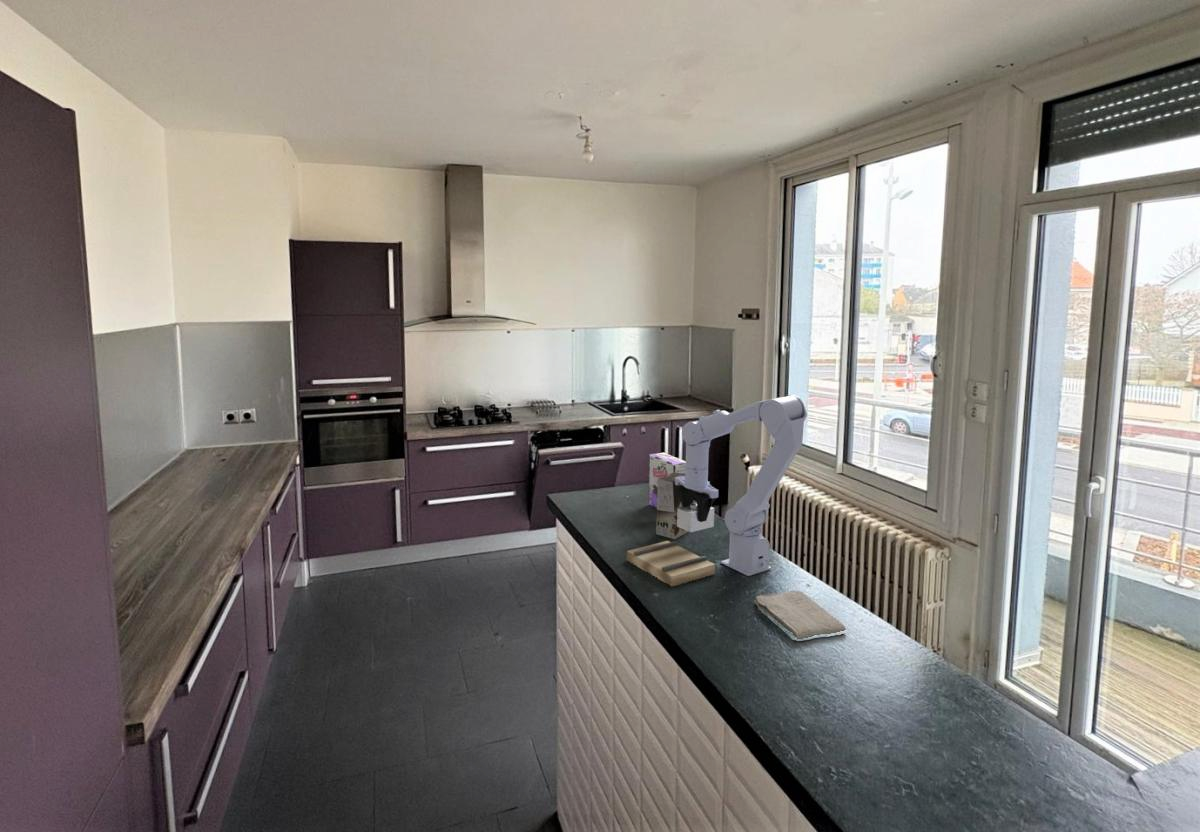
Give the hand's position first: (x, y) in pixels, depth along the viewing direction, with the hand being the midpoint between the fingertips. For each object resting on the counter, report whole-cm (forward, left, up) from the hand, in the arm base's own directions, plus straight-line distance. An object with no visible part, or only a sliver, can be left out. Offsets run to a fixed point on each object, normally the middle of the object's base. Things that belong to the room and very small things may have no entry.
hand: (695, 517), depth 179 cm
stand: (-6, +13, -8) cm, 17 cm away
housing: (0, 0, -2) cm, 2 cm away
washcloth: (-41, +7, -9) cm, 42 cm away
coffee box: (+12, -3, -9) cm, 15 cm away
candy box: (+28, -14, -9) cm, 33 cm away
